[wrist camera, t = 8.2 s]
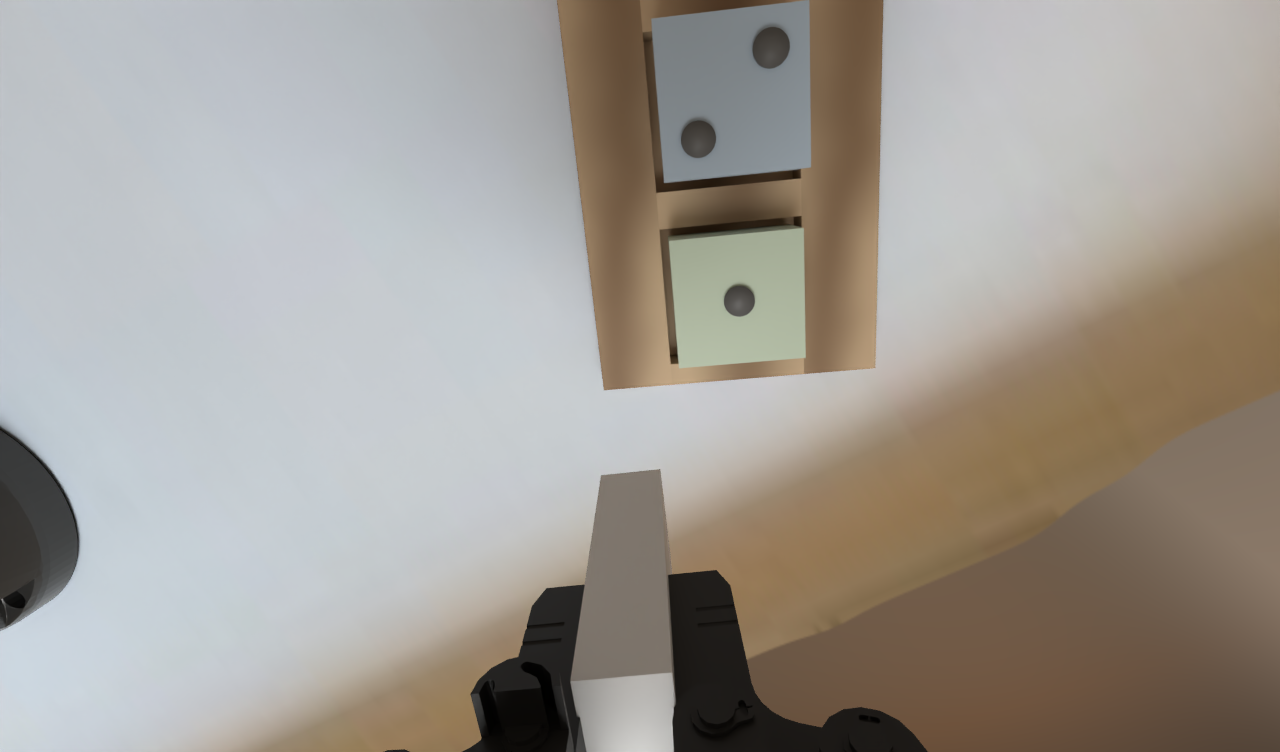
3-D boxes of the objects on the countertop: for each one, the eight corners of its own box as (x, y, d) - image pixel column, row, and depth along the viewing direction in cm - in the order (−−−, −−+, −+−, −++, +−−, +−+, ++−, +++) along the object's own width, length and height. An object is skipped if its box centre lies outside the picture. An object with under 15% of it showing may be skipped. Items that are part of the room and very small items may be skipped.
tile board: (607, 376, 33) (604, 390, 31) (540, -192, 26) (529, -229, 23) (860, 355, 33) (875, 368, 30) (868, -238, 25) (889, -282, 23)
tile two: (664, 183, 28) (664, 182, 24) (652, 39, 26) (651, 17, 23) (794, 169, 27) (812, 166, 24) (791, 22, 25) (810, -2, 22)
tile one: (677, 351, 31) (679, 369, 28) (667, 235, 30) (668, 241, 26) (791, 341, 31) (806, 358, 28) (788, 224, 29) (804, 228, 26)
